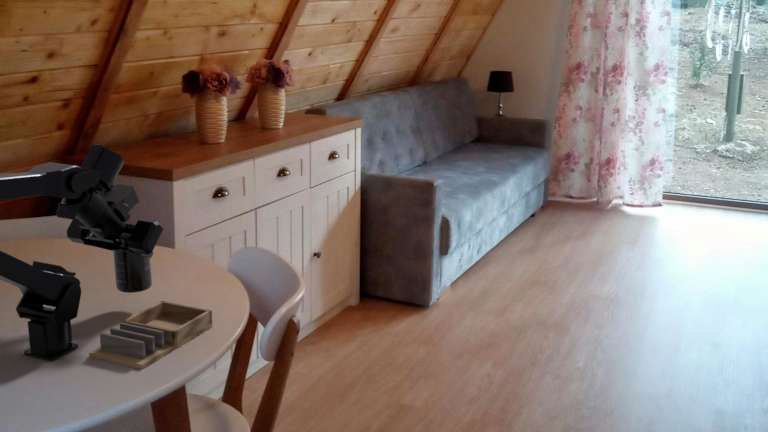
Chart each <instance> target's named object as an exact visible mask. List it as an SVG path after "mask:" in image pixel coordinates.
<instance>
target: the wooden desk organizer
mask: <svg viewBox="0 0 768 432" xmlns="http://www.w3.org/2000/svg"><path fill="white" fill-rule="evenodd" d="M212 313H213V310H210V309H207V308H201V307H200V308H199V307H196V306H190V305H186V304H182V303H175V302H169V301H164V300H161V301H160V302H157V303H155V304H154V305H151V306H150V307H148V308H146V309H144V310H142V311H140V312H138V313H136V314H134V315H132V316H129V318H126V319H124V320H122V322H120V323H119V328H118V327H113V326H112V327H110V328H109V333H106V332H100V333H99V341H100V345H99V346H98V347H96V348H95V349H92V350H91V351H90V352H88V357H89V358H93V359H97V360H101V361H104V362H105V361H106V362H109V363H115V364H118V365H119V364H120V365H122V366H128V367H131V368H136V369H140V370H144V369H145V368H147V367H148V366H150V365H152V364H154V363H155V362H157V361H159V360H160V359H162V358H163V357H166V356H167V355H168V354H170V353H172V352H174V351H175V350H177V349H178V348H180V347H182V346H183V345H185V344H187V343H188V342H190V341H192V340H193V339H195V338H196V337H198V336H200V335H201V334H203V333H205V332H207V331H208V330H210V329H212V328H213V314H212Z"/></svg>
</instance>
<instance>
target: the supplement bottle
mask: <svg viewBox="0 0 768 432" xmlns="http://www.w3.org/2000/svg"><path fill="white" fill-rule="evenodd" d="M128 239H129V237H125V236H120V238H119V240H118V242H116V243H115V244H114V246H113V251H112V253H113V255H112V256H113V266H114V281H115V288H116V289H117V290H118V291H119V292H122V293H128V294H130V293H131V294H133V293H139V292H144V291H147V290H149V289H150V288H151V287H152V285H153V275H152V274H153V273H152V262H151V259H152V258H148V257H145V256H141V255H137V254H134V253H130V252H129V250H130V249H129V248H128Z"/></svg>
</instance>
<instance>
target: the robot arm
mask: <svg viewBox="0 0 768 432" xmlns="http://www.w3.org/2000/svg"><path fill="white" fill-rule="evenodd" d="M124 164H125V160H124V157H123V156H122V155H121V154H119V153H116V152H115V151H113V150H111V149H108V148H106V147H105V146H104V145H103V144H99V143H98V144H97V143H92V145H91V146H90V148H89V151H88V154H87V155H86V157H85V158H84V161H83V162H82V164H81V166H80V165H79V166H78V165H74V164H73V165H72V164H67V163H66V164H65V163H57V162H49V161H48V162H45V163H41V164H38V165H35V166H33V167H32V168H31V169H30V170H27V171H23V172H22V171H20V172H11V173H2V174H0V202H3V201H11V200H16V199H18V200H19V199H25V198H26V199H27V198H33V197H40V196H41V197H47V198H48V197H49V198H55V199H56V198H58V199H62V200H61V202H59V203H57V206H58V207H57V210H56V217H57V218H60V219H64V220H65V219H67V220H71V222H70V224H69V225H68V227H67V229H66V237H67V239H69V240H70V241H71V242H72V243H76V244H83V245H85V246H88V247H89V246H90V247H94V248H97V249H98V248H99V249H102V250H107V251H111V252H113V246H114V244H115V243H116V242H118V241H119V238H120V236H125V237H129V239H128V248H129V249H130V250H129V252H130V253H134V254H137V255H141V256H145V257H148V258H150V259H152V257H153V255H154V249H155V248H156V245H157V243H158V241H159V240H160V239H159V238H160V236H161V235H162V232H164V231H163V230H164V227H163V225H162V224H161V223H160V222H159V221H158V220H154V219H148V218H141V219H138V220H137V222H136V223H135V224H133V223H132V224H131V223H127V222H129V221H130V218H131V214H130V213H129V212H130V211H131V210H132V209H133V208H134V207H135V206H136V205H137V204H139V203H140V201H141V200H140V198H139V195H138V193H137V191H136V188H135V186H134V185H127V184H122V183H121V184H119V183H118V184H114V182H115V180H116V178H117V176H118V175H119V173H120V171H121V170H122V167H123V165H124ZM76 274H77V273H76V272H74V271H68V270H67V269H66V268H64V267H63V266H62V265H58V264H54V263H53V264H52V263H47V262H41V261H38V260H37V261H36V260H33V261H32V264H30V263H27V262H25V261H24V260H21V259H19V258H17V257H15V256H13V255H11V254H9V253H7V252H4V251H2V250H0V280H1V281H3V282H5V283H7V284H10V285H12V286H15V288H16V287H17V288H18V289H19V290H20V292H21V294H22V296H21V298H20V301H19V302H18V303H17V306H16V307H15V311H16V313H17V315H18V317H19V318H20V319H26V320H28V321H27V328H28V341H29V347H28V348H27V349H24V350H23V354H24V355H26V356H30V357H35V358H38V359H42V360H46V361H54V360H56V359H59V358H60V357H62V356H64V355H66V354H68V353H70V352H72V351H74V350H76V349H79V344H78V343H74V342H73V333H72V322H71V320H74V319H75V318H77V317H78V313H79V309H80V302H81V296H82V288H81V281H80V279H79V278H78V277H76ZM51 307H52V308H51Z"/></svg>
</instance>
